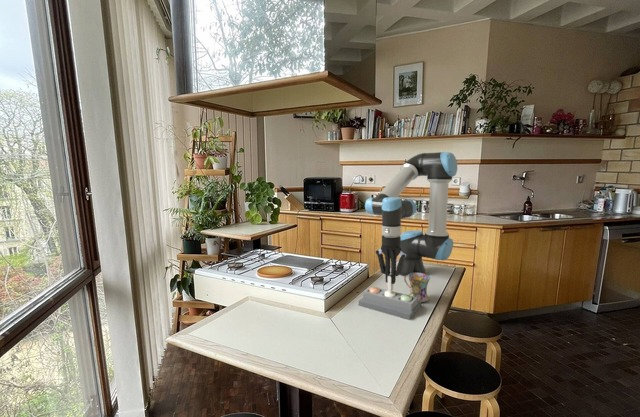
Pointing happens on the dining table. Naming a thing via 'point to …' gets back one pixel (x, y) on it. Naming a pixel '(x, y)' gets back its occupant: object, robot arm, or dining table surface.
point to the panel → (390, 303)
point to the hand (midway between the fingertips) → (390, 290)
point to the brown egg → (374, 290)
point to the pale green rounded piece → (406, 298)
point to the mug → (418, 285)
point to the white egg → (390, 294)
